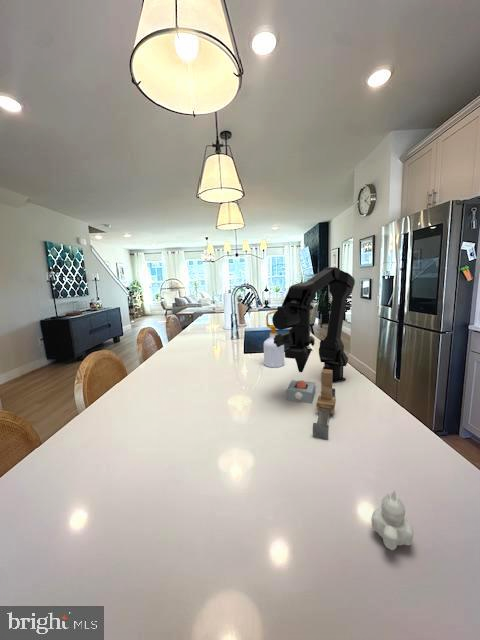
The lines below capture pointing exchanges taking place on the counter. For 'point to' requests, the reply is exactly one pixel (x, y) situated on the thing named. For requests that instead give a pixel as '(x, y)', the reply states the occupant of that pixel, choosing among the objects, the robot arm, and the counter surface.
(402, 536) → the white animal figurine
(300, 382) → the button
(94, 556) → the counter surface
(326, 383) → the wooden t-block
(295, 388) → the box
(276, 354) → the soap bottle
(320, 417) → the rail
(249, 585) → the counter surface
